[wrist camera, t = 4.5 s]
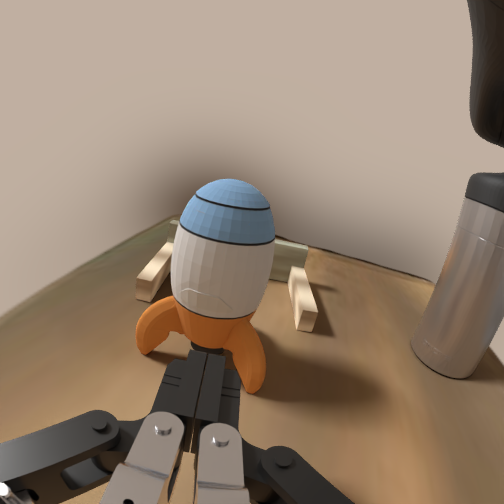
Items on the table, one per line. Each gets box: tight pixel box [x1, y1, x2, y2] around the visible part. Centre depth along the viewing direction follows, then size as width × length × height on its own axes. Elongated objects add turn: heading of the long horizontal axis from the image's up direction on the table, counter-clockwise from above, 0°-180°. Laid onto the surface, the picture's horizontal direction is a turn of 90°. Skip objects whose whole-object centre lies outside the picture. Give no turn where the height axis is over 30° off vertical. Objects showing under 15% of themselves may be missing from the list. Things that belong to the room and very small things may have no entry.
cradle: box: [136, 220, 318, 332], centre depth 35 cm, size 13×18×5 cm
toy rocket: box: [136, 179, 275, 394], centre depth 22 cm, size 10×11×15 cm
